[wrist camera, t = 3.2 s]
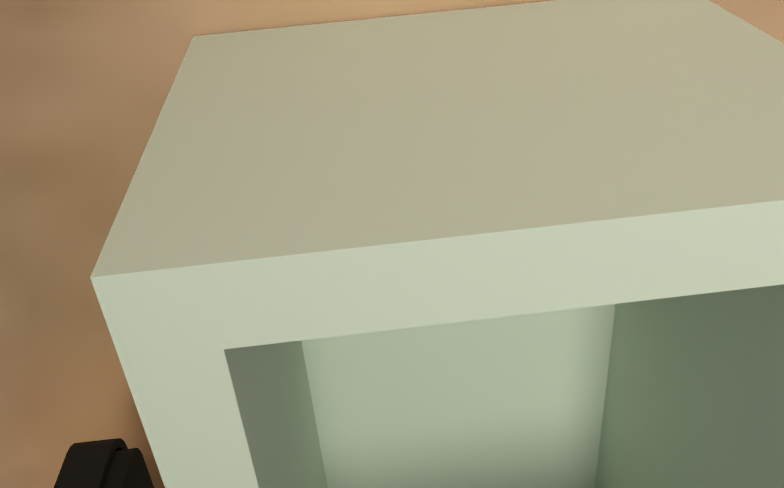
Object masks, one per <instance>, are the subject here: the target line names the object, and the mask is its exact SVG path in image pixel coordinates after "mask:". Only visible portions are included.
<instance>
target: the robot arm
mask: <svg viewBox="0 0 784 488" xmlns="http://www.w3.org/2000/svg"><path fill="white" fill-rule="evenodd" d="M54 488H154V487H153V484H152V481H151V478H150V475H149V473H148V470H147V467H146V464H145V461H144V459H143V456H142V453H141V451H140V450H139V449H138V448H133V449H128V448H127V446H126V444H125V442H124V441H123V440H122V439H121V438H117V439H108V440H100V441H91V442H82V443H74V444H73V445H72V446H71V447H70V448H69V450H68V452H67V454H66V457H65V459H64V462H63V465H62V467H61V470H60V473H59V475H58V478H57V481H56V483H55V486H54Z"/></svg>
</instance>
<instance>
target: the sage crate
mask: <svg viewBox="0 0 784 488" xmlns="http://www.w3.org/2000/svg"><path fill="white" fill-rule="evenodd" d="M90 278H91V281H92V284H93V287H94V290H95V292H96V295H97V298H98V301H99V304H100V307H101V309H102V312H103V315H104V318H105V321H106V323H107V326H108V329H109V332H110V335H111V337H112V340H113V343H114V346H115V349H116V351H117V354H118V357H119V360H120V363H121V365H122V368H123V371H124V374H125V377H126V379H127V382H128V385H129V388H130V391H131V394H132V396H133V399H134V402H135V405H136V408H137V410H138V413H139V416H140V419H141V422H142V424H143V427H144V430H145V433H146V436H147V438H148V441H149V444H150V447H151V450H152V452H153V455H154V458H155V461H156V464H157V467H158V469H159V472H160V475H161V478H162V481H163V483H164V486H165V488H784V43H782V42H780V41H778V40H777V39H775V38H773V37H772V36H770V35H768V34H766V33H765V32H763V31H761V30H760V29H758V28H756V27H754V26H753V25H751V24H749V23H748V22H746V21H744V20H742V19H741V18H739V17H737V16H735V15H734V14H732V13H730V12H729V11H727V10H725V9H723V8H722V7H720V6H718V5H717V4H715V3H713V2H711V1H710V0H553V1H543V2H533V3H523V4H513V5H503V6H493V7H483V8H473V9H463V10H453V11H442V12H432V13H422V14H412V15H402V16H392V17H382V18H372V19H362V20H352V21H342V22H332V23H321V24H311V25H301V26H291V27H281V28H271V29H261V30H251V31H241V32H231V33H221V34H210V35H200V36H193V38H192V40H191V42H190V45H189V47H188V49H187V52H186V54H185V56H184V59H183V61H182V63H181V66H180V68H179V70H178V73H177V75H176V77H175V80H174V82H173V85H172V87H171V89H170V92H169V94H168V96H167V99H166V101H165V103H164V106H163V108H162V110H161V113H160V115H159V117H158V120H157V122H156V124H155V127H154V129H153V131H152V134H151V136H150V138H149V141H148V143H147V145H146V148H145V150H144V152H143V155H142V157H141V159H140V162H139V164H138V166H137V169H136V171H135V173H134V176H133V178H132V180H131V183H130V185H129V188H128V190H127V192H126V195H125V197H124V199H123V202H122V204H121V206H120V209H119V211H118V213H117V216H116V218H115V220H114V223H113V225H112V227H111V230H110V232H109V234H108V237H107V239H106V241H105V244H104V246H103V248H102V251H101V253H100V255H99V258H98V260H97V262H96V265H95V267H94V269H93V272H92V274H91V276H90Z"/></svg>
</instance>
